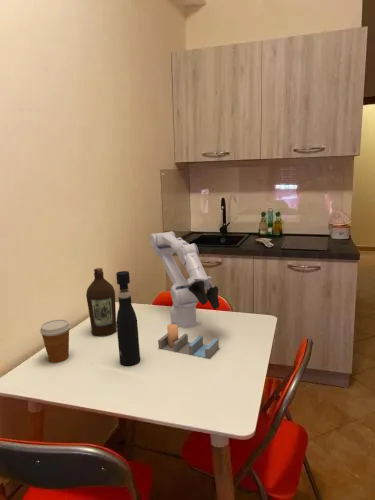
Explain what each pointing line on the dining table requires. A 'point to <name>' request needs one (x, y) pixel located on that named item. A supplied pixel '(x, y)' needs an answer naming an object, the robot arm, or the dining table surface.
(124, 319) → the wine bottle
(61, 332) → the disposable coffee cup
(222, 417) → the dining table surface
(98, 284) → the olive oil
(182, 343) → the grey slotted rack
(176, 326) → the tan rounded cylinder
